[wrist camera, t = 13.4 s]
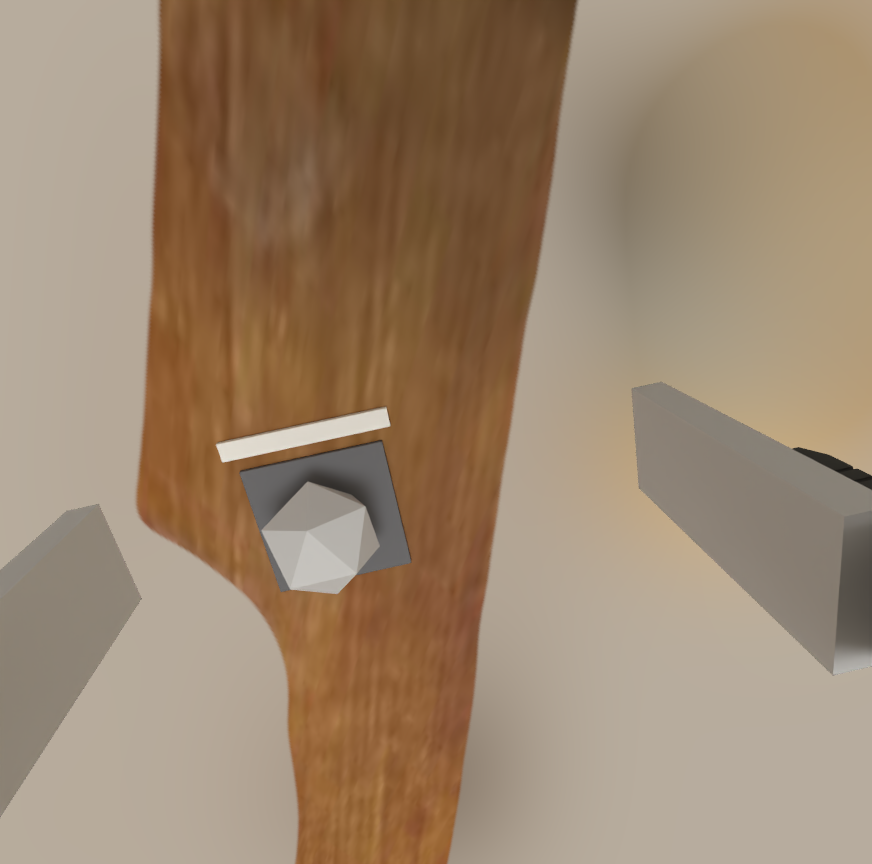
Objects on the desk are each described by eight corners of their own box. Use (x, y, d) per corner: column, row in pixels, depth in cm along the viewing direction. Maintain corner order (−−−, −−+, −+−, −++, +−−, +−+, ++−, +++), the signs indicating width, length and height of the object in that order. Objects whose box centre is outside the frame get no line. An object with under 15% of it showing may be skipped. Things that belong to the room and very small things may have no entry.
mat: (386, 406, 46) (386, 408, 45) (421, 558, 51) (422, 560, 51) (217, 442, 46) (216, 444, 45) (270, 591, 51) (269, 595, 50)
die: (288, 563, 50) (347, 633, 44) (224, 523, 44) (283, 598, 38) (351, 494, 52) (416, 553, 46) (298, 446, 45) (367, 506, 39)
